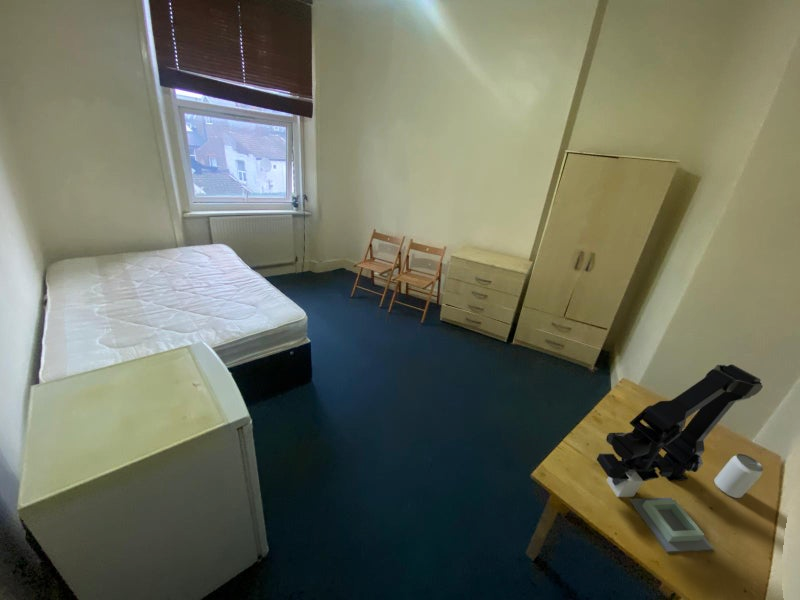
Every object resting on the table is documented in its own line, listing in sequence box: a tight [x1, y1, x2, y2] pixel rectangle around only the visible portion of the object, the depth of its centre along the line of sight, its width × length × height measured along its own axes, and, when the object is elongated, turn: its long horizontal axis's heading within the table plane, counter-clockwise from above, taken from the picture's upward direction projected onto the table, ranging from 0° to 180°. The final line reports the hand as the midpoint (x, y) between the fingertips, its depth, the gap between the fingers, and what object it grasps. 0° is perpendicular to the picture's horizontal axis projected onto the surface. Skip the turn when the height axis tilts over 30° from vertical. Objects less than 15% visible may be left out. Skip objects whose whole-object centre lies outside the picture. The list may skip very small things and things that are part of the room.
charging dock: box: [629, 497, 714, 553], centre depth 86 cm, size 13×13×3 cm
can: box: [713, 453, 764, 499], centre depth 96 cm, size 6×6×12 cm
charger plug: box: [605, 470, 644, 498], centre depth 93 cm, size 5×5×8 cm
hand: (622, 483), depth 94 cm, fingers closed on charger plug, 5 cm apart
